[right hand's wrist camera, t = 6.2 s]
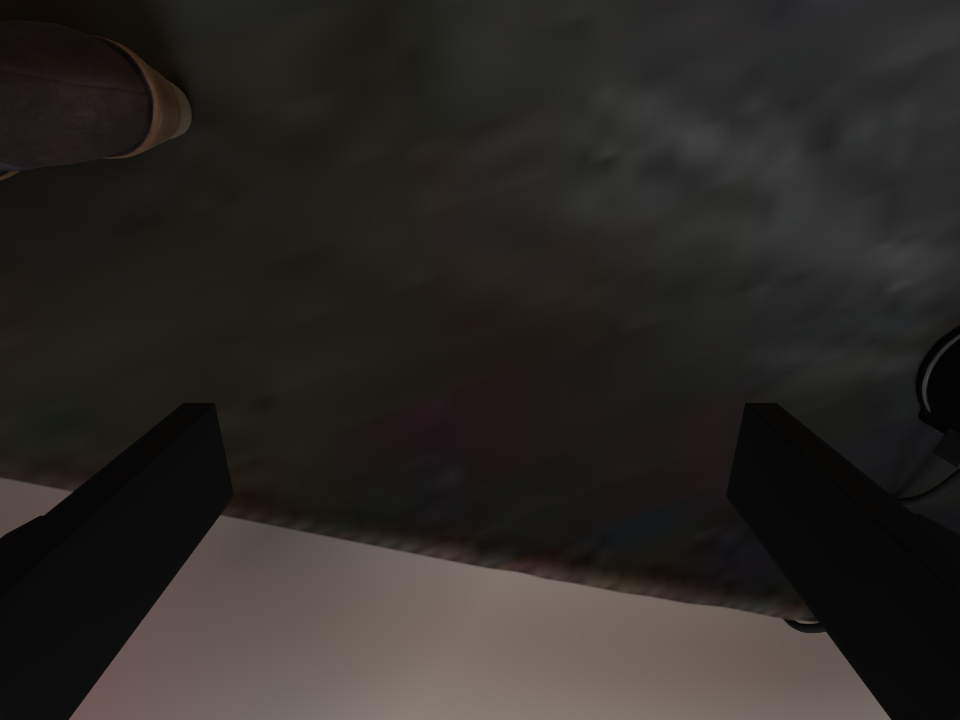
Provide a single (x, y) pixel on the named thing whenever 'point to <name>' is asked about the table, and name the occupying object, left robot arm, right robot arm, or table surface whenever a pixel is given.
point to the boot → (78, 99)
